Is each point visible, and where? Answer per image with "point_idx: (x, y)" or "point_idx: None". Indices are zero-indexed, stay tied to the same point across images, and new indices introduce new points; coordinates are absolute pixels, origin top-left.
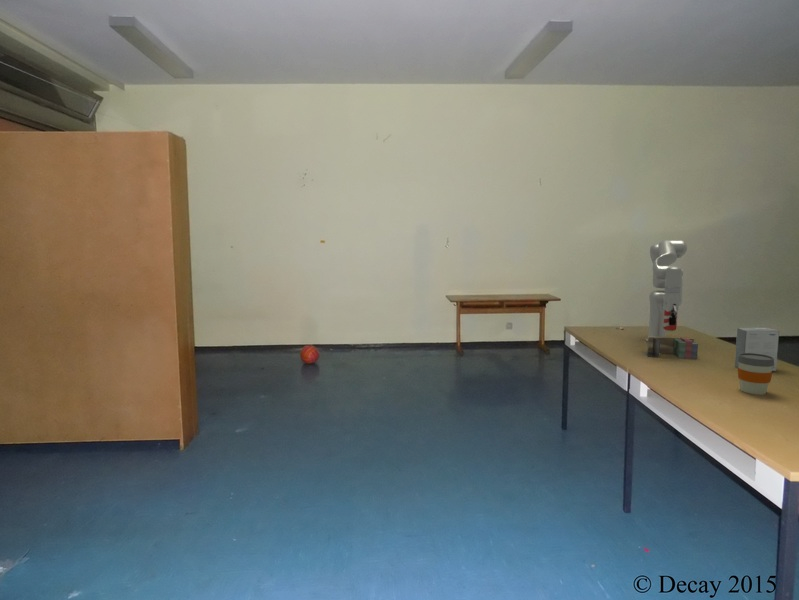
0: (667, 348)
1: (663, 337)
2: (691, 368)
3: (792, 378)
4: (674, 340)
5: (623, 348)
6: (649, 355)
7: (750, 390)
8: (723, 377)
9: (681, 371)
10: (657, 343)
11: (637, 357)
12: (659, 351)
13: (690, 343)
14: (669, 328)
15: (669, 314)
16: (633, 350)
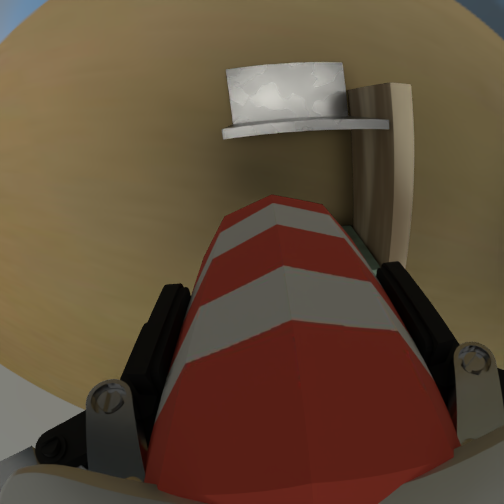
0: (363, 205)
1: (400, 201)
2: (70, 248)
3: None
4: (372, 264)
5: (420, 3)
6: (255, 81)
7: None
8: (27, 309)
9: (17, 205)
10: (260, 123)
11: (198, 19)
12: (355, 156)
13: None
14: (202, 262)
15: (156, 433)
16: (390, 33)
